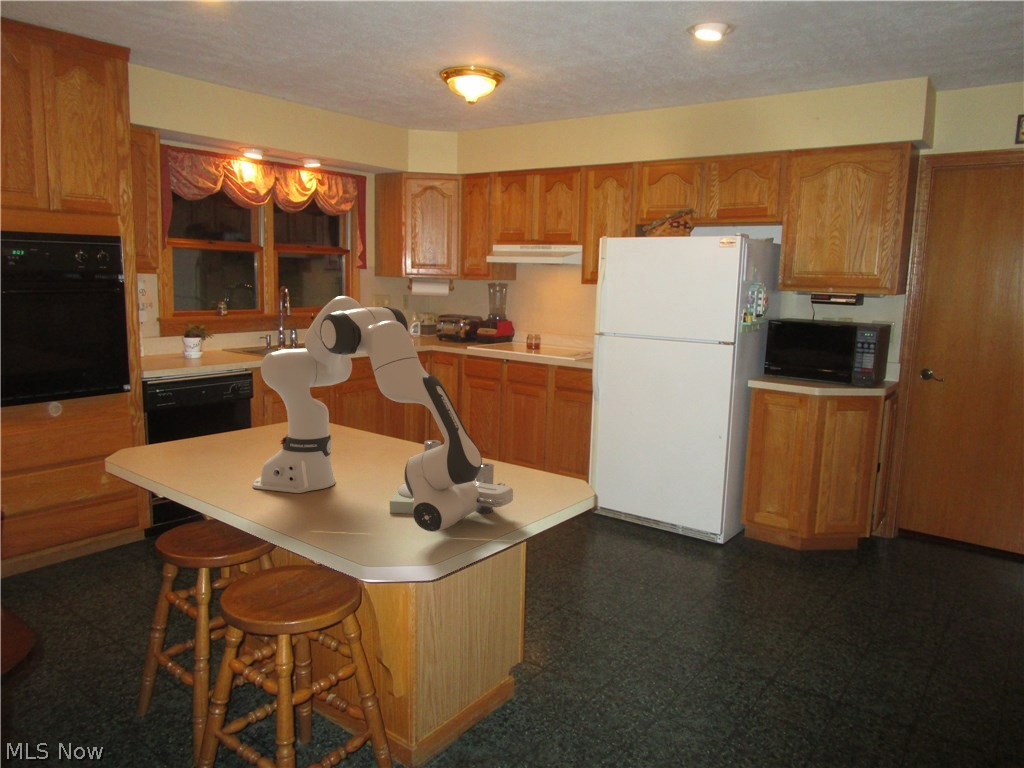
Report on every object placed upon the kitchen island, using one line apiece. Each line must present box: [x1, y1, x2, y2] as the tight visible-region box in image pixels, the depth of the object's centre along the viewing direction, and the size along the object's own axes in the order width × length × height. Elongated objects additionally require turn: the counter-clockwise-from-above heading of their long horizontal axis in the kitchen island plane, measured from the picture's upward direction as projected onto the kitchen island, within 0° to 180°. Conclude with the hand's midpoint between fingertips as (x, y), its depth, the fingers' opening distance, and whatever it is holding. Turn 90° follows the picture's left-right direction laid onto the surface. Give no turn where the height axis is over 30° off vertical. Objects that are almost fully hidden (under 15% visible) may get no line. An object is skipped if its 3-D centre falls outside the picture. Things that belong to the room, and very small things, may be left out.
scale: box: [389, 482, 414, 515], centre depth 187 cm, size 13×16×4 cm
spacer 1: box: [423, 439, 442, 452], centre depth 191 cm, size 4×4×12 cm
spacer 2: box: [475, 462, 495, 514], centre depth 182 cm, size 4×4×12 cm
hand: (485, 483), depth 183 cm, fingers open, 8 cm apart
